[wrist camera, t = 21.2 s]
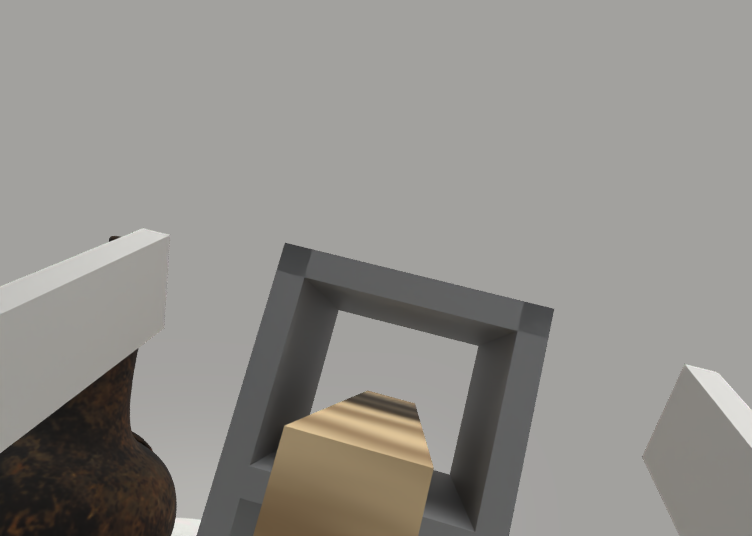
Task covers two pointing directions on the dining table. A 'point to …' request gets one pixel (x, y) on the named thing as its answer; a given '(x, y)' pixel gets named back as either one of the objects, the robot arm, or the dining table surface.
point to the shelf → (408, 309)
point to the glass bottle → (87, 470)
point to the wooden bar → (349, 472)
